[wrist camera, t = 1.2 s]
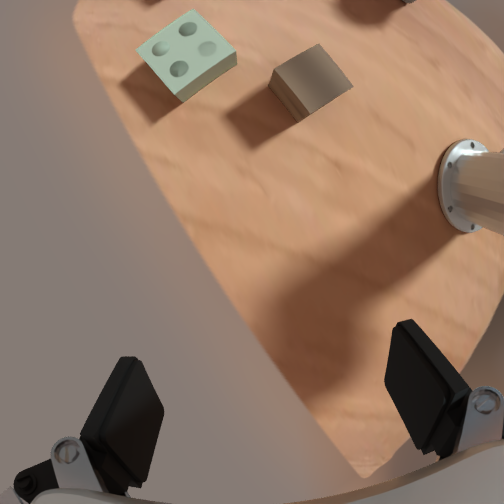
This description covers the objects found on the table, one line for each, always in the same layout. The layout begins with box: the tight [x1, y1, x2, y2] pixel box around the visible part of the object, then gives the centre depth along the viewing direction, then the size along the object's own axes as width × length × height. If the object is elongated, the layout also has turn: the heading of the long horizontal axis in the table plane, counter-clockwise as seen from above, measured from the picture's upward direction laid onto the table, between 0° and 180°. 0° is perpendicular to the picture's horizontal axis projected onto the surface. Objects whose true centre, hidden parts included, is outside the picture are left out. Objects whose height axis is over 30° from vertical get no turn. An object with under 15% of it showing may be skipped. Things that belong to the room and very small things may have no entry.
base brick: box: [136, 9, 237, 103], centre depth 23 cm, size 7×7×4 cm
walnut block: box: [269, 44, 353, 122], centre depth 23 cm, size 5×5×6 cm
